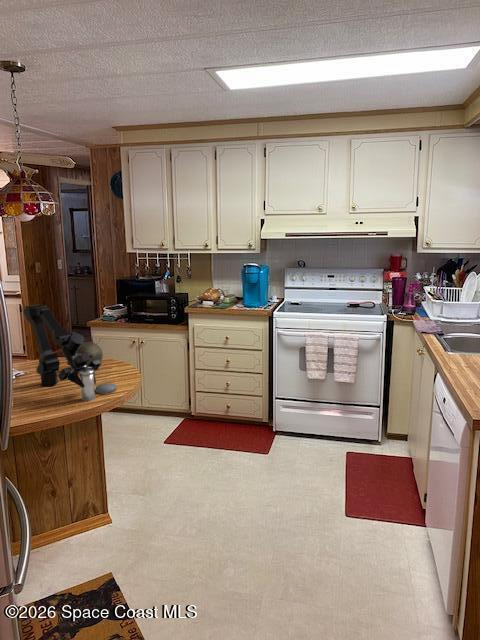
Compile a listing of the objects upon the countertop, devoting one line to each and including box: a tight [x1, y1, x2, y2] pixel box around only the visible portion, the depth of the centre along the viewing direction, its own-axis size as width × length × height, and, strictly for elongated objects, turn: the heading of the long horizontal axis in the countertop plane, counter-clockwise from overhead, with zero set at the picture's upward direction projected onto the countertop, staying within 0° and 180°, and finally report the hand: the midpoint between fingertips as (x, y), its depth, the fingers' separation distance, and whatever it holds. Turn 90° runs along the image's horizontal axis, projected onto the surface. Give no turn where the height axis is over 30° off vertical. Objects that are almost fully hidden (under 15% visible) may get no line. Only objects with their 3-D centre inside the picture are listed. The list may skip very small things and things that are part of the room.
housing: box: [78, 368, 96, 402], centre depth 204 cm, size 6×6×13 cm
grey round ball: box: [77, 341, 104, 365], centre depth 244 cm, size 14×14×15 cm
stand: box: [95, 382, 117, 395], centre depth 215 cm, size 9×9×2 cm
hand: (89, 385), depth 203 cm, fingers closed on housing, 6 cm apart
